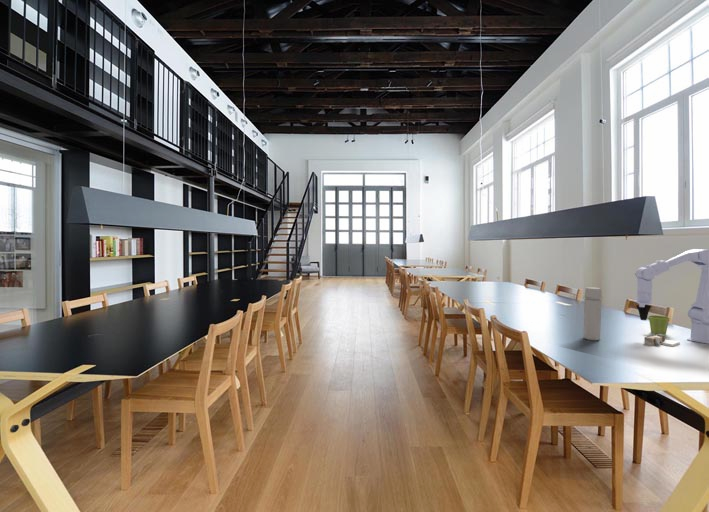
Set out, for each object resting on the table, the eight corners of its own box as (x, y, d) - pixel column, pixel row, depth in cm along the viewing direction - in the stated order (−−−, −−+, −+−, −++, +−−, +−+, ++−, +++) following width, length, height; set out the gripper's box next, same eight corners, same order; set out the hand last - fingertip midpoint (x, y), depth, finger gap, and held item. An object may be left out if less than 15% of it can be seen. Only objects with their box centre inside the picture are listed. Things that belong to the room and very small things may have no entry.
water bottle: (603, 341, 186) (605, 289, 185) (585, 340, 188) (587, 288, 186) (595, 336, 195) (597, 286, 194) (578, 335, 197) (580, 286, 195)
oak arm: (659, 341, 187) (659, 333, 186) (666, 342, 184) (666, 335, 184) (644, 343, 182) (644, 336, 182) (651, 345, 179) (651, 337, 179)
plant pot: (642, 332, 204) (643, 316, 203) (653, 330, 208) (654, 314, 207) (663, 336, 195) (664, 319, 195) (673, 334, 199) (674, 317, 199)
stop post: (660, 345, 180) (660, 337, 179) (658, 345, 179) (658, 338, 179) (655, 344, 181) (656, 336, 181) (654, 344, 180) (654, 337, 180)
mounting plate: (679, 344, 182) (679, 341, 182) (672, 346, 177) (672, 344, 177) (668, 341, 185) (668, 339, 185) (661, 344, 181) (661, 342, 181)
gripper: (636, 290, 197) (635, 316, 198) (631, 293, 187) (631, 321, 188) (654, 291, 193) (653, 318, 193) (650, 294, 182) (649, 323, 183)
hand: (643, 320), depth 190 cm, fingers closed
